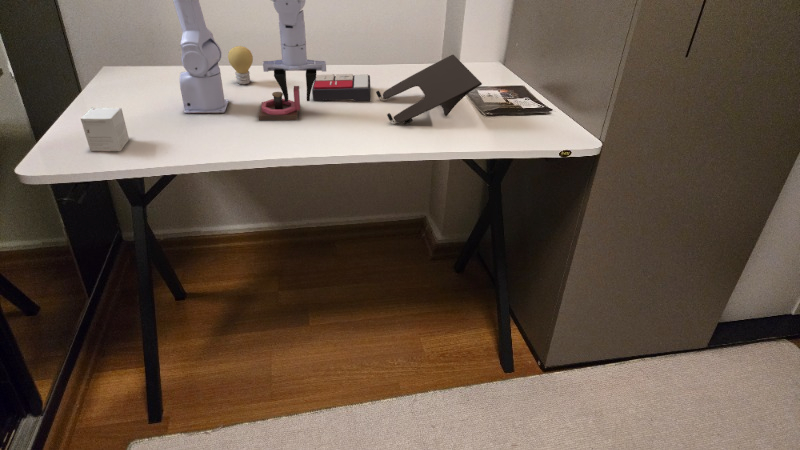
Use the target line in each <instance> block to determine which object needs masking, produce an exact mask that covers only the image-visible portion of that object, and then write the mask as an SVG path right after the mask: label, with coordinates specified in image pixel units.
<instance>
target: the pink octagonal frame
mask: <svg viewBox="0 0 800 450" xmlns="http://www.w3.org/2000/svg"><path fill="white" fill-rule="evenodd" d="M300 96H301V95H300V86H299V85H294V86H293V100H291V99H288V102H285V98H282V103H283V104H287V105H289V106H291V107H288V108H286V109H270V108H268V107H267V106H270V105H273V104H274V98H272V99H267V100H266V101H262V102H263V103H262V102H261V103H262V107H261V106H260V107H261V109H262V111H263V112H265V113H268V114H270V115H285V114H288V113H291V112H293V111H295V110H298V111H301V100H300V99H301V97H300Z"/></svg>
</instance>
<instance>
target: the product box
mask: <svg viewBox="0 0 800 450" xmlns="http://www.w3.org/2000/svg"><path fill="white" fill-rule="evenodd" d="M80 121H81V125H82V129H83V131H84V135H85V138H86V141H87V145H88V148H89V150H90V151H91V152H121V151H122V150H123V148H124V147H125V146H126V144H127V143H128V141H129V140H130V136H129V133H128V128H127V124H126V120H125V117H124V113H123V109H122V108H121V107H91V108H90V109H89V110H87V111H86V113H85V114H83V115H82V116H81V117H80Z"/></svg>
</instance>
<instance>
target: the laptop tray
mask: <svg viewBox="0 0 800 450" xmlns="http://www.w3.org/2000/svg"><path fill="white" fill-rule="evenodd" d="M482 85H483V82H481V81H480V79H478V78H477V76H476V75H475V74H473V72H472V71H470V70H469V69H468V67H467V66H465V64H464V63H462V62H461V60H459V58H457V56H455V55H454V54H451V55H449V56H447V57H445V58H443V59H441V60H439V61H437V62H435V63H433V64H430V65H429V66H427V67H425V68H424V69H421V70H420V71H417V72H416V73H414V74H412V75H410V76H409V77H406V78H405V79H402V80H401V81H399V82H398V83H396V84H394V85H393V86H391V87H389V88H386V89H385V91H383V93H382V94H381V92H380V91H379V90H376V91H375V93H376V95H377V97H378V99H379V100H380V101H386V100H389V99H390V98H393V97H394V96H397V95H399V94H401V93H404V92H406V91H408V90H410V89H412V88H415V87H418V88H419V89H420V90H421V92H422V93H423V95H424V97H422V99H419V100H418V101H416V102H415V103H413V104H411V105H410V106H408V107H406V108H405V109H403V110H401V111H400V112H398V113H396V114H395V115H394V116H392V114H391V113H390V112H389V113H386V116H387V119H388V120H389V122H390V123H391V124H392V125H397V124H398V123H399V124H400V123H403V124H404V125H409V124H411V122H413V118H416V117H418V116H420V115H422V114H425V113H426V112H428V111H430V110H433V109H435V108H438V107H439V106H440V107H441V108H442V111H443V116H445V117H447V116H448V115H450V113H451V112H452V110H453V109H454V108H455V107H456V106H457V105H458V103H460V101H462V100H463V98H464V97H466V96H467V95H469V93H470V92H473V91H474V90H475V89H478V88H479V87H481V86H482Z"/></svg>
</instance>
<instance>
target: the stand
mask: <svg viewBox="0 0 800 450" xmlns="http://www.w3.org/2000/svg"><path fill="white" fill-rule="evenodd" d="M271 95H272V96H273V99H274V104H273V105H270V106H267V107H268V108H270V109H286V108H288V107H291V106H289V105H287V104H283V103H282V99H283V97H284V95H283V92H282V91H274V92H272V93H271ZM263 102H264V101H261V103H260V108H259V112H258V121H298V115H299V110H295V111H293V112H291V113H288V114H285V115H270V114H268V113H265V112H263V111H262V109H261V107H262V103H263Z"/></svg>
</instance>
